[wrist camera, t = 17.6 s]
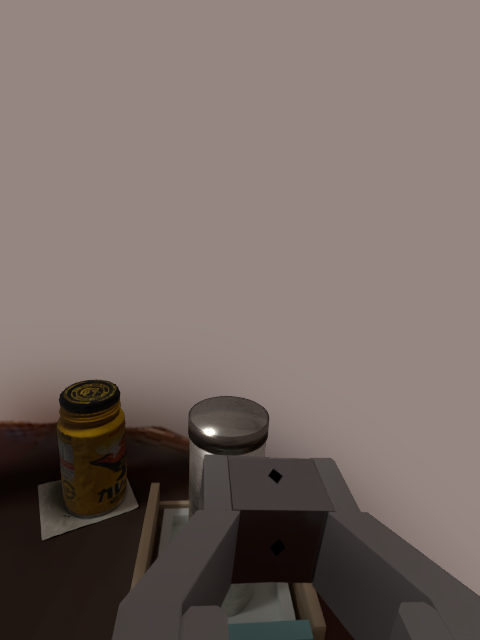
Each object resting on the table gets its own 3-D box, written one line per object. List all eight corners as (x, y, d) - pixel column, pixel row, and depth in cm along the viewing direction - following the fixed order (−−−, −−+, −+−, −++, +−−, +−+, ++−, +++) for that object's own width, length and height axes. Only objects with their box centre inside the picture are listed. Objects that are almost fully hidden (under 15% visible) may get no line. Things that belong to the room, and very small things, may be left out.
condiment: (138, 508, 36) (136, 399, 33) (42, 542, 32) (27, 421, 29) (121, 464, 42) (117, 368, 39) (38, 488, 38) (25, 383, 35)
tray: (140, 716, 21) (139, 648, 20) (164, 531, 34) (164, 481, 32) (303, 703, 22) (313, 638, 21) (268, 528, 34) (273, 479, 33)
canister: (183, 620, 25) (185, 437, 21) (188, 552, 30) (191, 395, 26) (259, 618, 25) (274, 438, 22) (252, 551, 30) (263, 396, 27)
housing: (123, 697, 22) (120, 638, 21) (152, 527, 34) (151, 483, 33) (316, 683, 24) (326, 626, 22) (279, 524, 35) (283, 480, 34)
